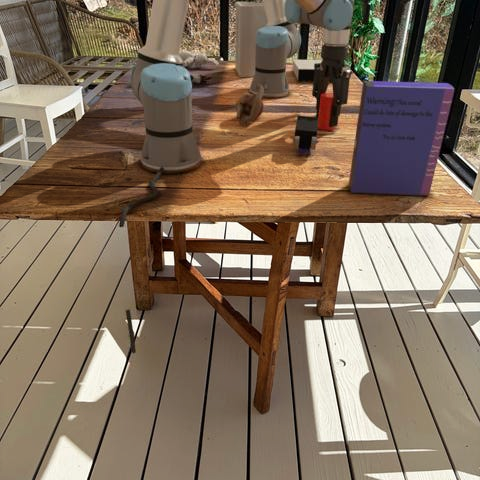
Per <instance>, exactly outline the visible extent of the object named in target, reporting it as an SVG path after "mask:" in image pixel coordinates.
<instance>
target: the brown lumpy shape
mask: <svg viewBox="0 0 480 480" xmlns="http://www.w3.org/2000/svg"><path fill="white" fill-rule="evenodd" d="M256 89H257V90H259V91H258V93H257V95H255V94H250V92H247V91H245V92H243V93H242V94H241V96H240V97H239V98H238V100H237V101H236V102H235V106H234V107H235V111H236V115H235V119H236V120H240V122H239V125H240V126H245V127H247V126H248V125H250V123H252V122H254V121H255V120H256V119H257V118H258V117H260V116H262V114H263V112H264V106H265V105H264V103H263V101H262V99H263V98H262V96H263V94H264V88H263V86H262V85H260V84H258V85H256Z"/></svg>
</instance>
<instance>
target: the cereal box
mask: <svg viewBox="0 0 480 480" xmlns="http://www.w3.org/2000/svg"><path fill="white" fill-rule="evenodd" d="M454 93H455V88H454V86H453V85H452V84H450V83H448V82H419V81H417V82H415V81H386V80H385V81H381V80H363V82H362V88H361V96H360V100H359V101H360V102H359V108H358V115H357V123H356V130H355V137H354V144H353V151H352V158H351V164H350V172H349V177H348V178H349V179H348V187H349V190H350V193H351V194H373V195H395V196H397V195H398V196H420V197H421V196H423V197H430V193H431V190H432V189H431V188H432V185H433V180H434V176H435V172H436V168H437V164H438V160H439V156H440V152H441V147H442V143H443V139H444V135H445V132H446V126H447V123H448V119H449V118H448V117H449V115H450V110H451V106H452V103H453V97H454Z"/></svg>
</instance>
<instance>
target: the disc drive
mask: <svg viewBox="0 0 480 480" xmlns="http://www.w3.org/2000/svg"><path fill="white" fill-rule="evenodd" d="M322 60H323V59H292V72H293V74H294V75H295V77H296V79H297V82H314V74H315V69H314V64H315V63H321V62H322ZM336 79H338V78H336ZM330 82H331V79H330V81H329V83H330ZM331 83H332V82H331Z"/></svg>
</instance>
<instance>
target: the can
mask: <svg viewBox="0 0 480 480" xmlns="http://www.w3.org/2000/svg"><path fill="white" fill-rule="evenodd" d="M332 104H334V98H333V92H326V93H322V94H321V96H320V106H319V116H318V130H320V131H333V130H335V129H336V126H334V127H329V125H330V116H331V107H332Z"/></svg>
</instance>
